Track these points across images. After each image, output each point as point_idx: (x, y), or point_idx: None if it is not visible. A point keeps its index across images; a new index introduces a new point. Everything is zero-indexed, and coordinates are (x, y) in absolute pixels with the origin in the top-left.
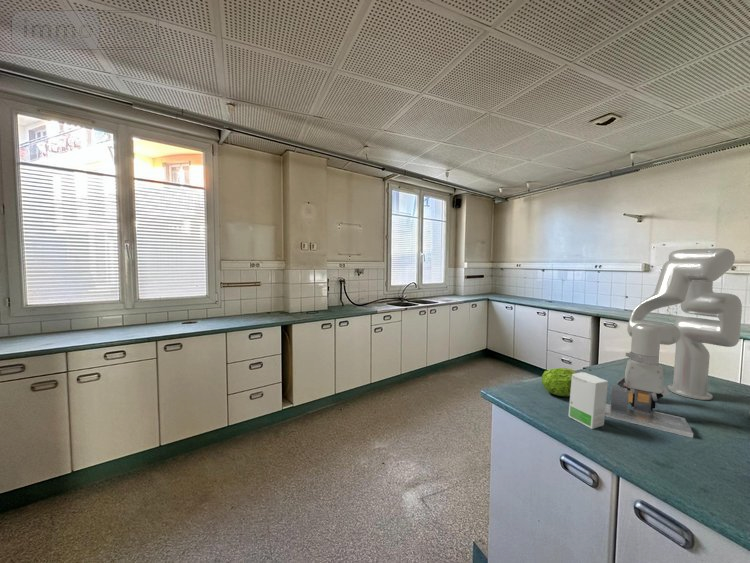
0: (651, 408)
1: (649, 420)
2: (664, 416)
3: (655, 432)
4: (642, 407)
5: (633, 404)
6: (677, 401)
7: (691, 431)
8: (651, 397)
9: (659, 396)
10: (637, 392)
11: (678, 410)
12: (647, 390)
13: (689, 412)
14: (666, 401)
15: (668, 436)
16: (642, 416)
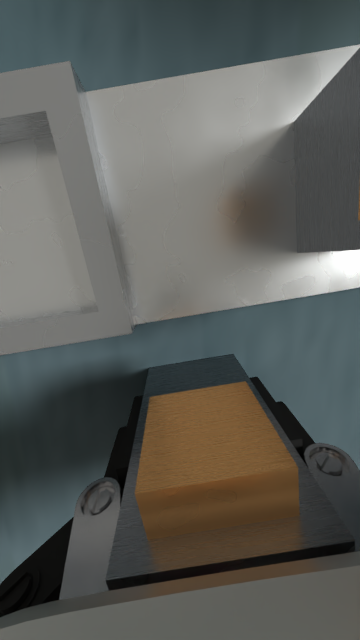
0: (140, 405)
1: (133, 152)
2: (48, 317)
3: (87, 26)
4: (194, 383)
5: None
6: None
7: None
8: None
9: (41, 568)
10: (292, 500)
11: (45, 539)
12: (166, 623)
13: (3, 550)
14: None
15: (3, 21)
16: (184, 207)
